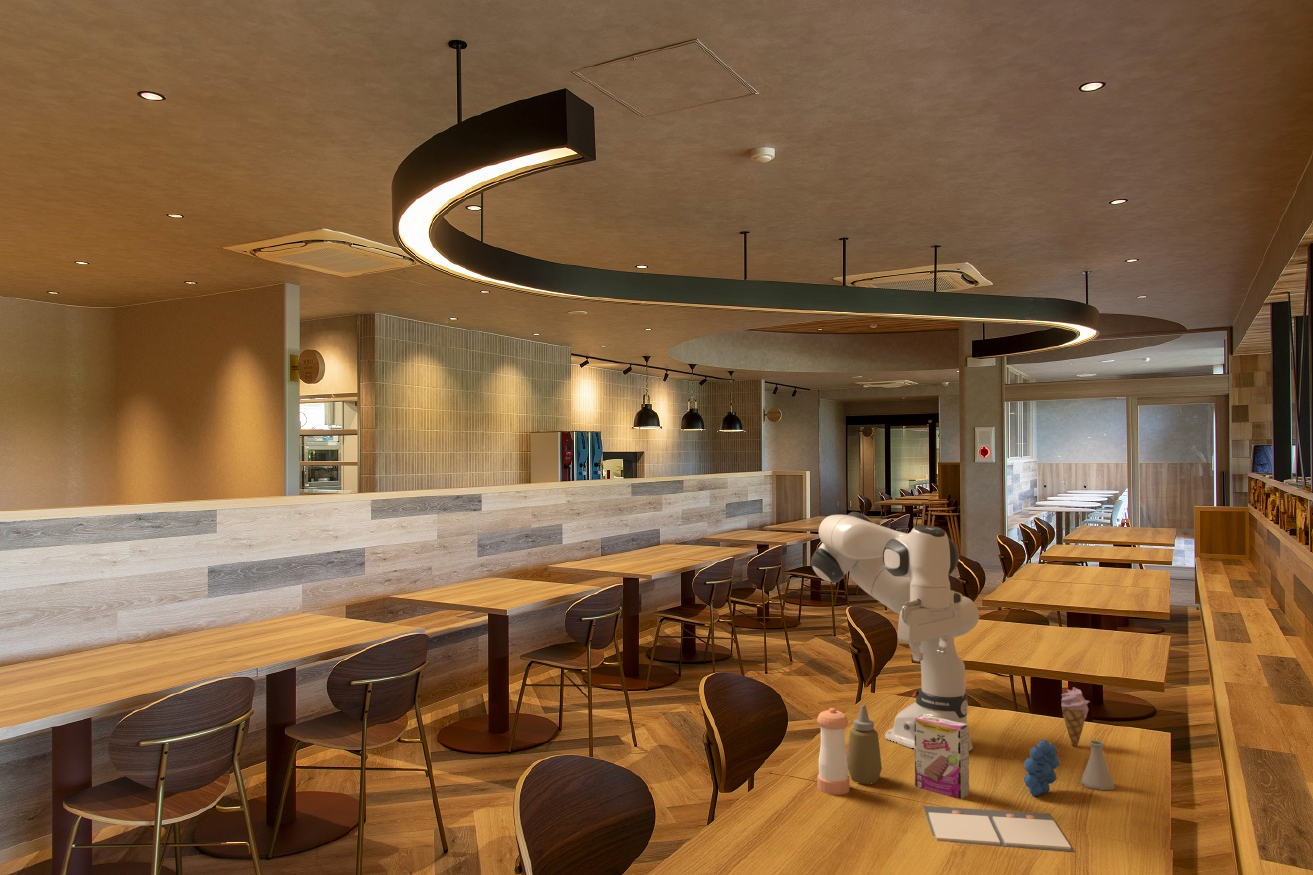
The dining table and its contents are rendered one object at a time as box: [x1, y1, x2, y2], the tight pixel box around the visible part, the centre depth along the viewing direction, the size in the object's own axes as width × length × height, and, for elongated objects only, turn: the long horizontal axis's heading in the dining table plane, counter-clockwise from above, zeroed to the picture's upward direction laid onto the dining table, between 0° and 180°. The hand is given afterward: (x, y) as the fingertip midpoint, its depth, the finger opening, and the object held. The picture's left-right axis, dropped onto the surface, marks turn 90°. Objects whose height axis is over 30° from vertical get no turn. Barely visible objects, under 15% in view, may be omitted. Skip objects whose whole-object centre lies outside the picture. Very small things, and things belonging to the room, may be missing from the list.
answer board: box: [923, 805, 1075, 853], centre depth 174 cm, size 26×17×1 cm, turn 80°
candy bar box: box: [914, 714, 970, 800], centre depth 194 cm, size 11×5×16 cm, turn 47°
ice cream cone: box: [1060, 687, 1091, 747], centre depth 223 cm, size 7×6×15 cm
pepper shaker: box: [816, 707, 850, 796], centre depth 195 cm, size 7×7×19 cm
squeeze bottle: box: [847, 704, 883, 785], centre depth 200 cm, size 8×8×18 cm
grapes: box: [1023, 739, 1061, 797], centre depth 193 cm, size 12×7×12 cm, turn 123°
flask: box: [1080, 739, 1115, 791], centre depth 197 cm, size 7×7×10 cm
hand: (929, 657), depth 194 cm, fingers open, 8 cm apart
